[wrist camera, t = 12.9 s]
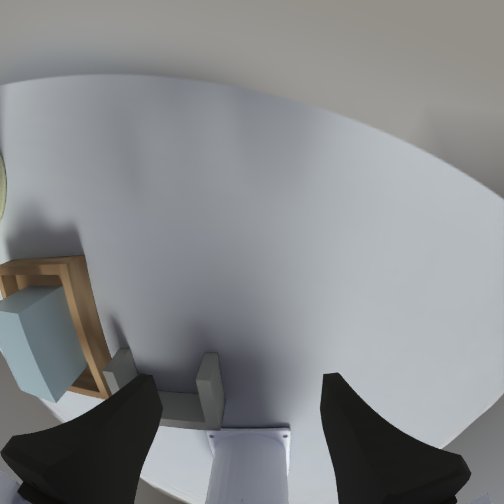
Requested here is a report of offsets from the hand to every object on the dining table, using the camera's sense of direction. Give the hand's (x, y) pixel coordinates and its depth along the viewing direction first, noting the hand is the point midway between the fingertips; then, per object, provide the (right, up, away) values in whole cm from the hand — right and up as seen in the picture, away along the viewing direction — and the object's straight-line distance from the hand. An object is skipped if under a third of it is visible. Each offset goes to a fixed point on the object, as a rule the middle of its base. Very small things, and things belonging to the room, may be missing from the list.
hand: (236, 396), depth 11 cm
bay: (-6, -5, +11) cm, 14 cm away
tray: (-17, -1, +11) cm, 20 cm away
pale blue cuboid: (-17, -1, +10) cm, 20 cm away
